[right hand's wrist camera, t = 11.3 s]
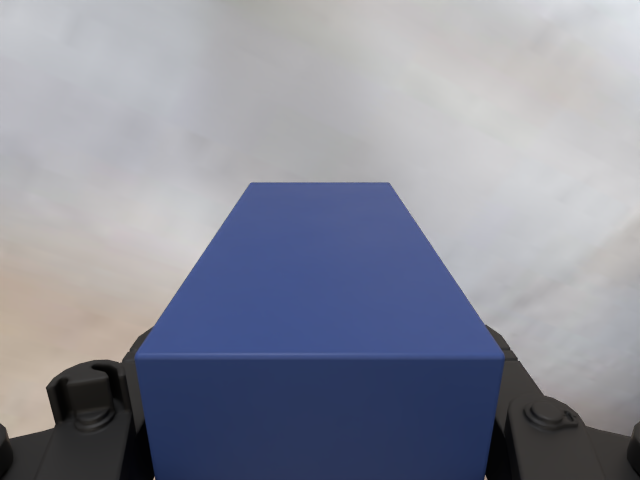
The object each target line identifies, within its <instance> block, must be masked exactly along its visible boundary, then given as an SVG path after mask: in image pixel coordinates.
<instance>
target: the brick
mask: <svg viewBox="0 0 640 480" xmlns="http://www.w3.org/2000/svg"><path fill="white" fill-rule="evenodd" d="M504 362H505V356H504V353H503V351H502V350H501V348H500V347H499V345H498V344H497V342H496V341H495V340H494V338H493V337H492V335H491V334H490V332H489V331H488V329H487V328H486V326H485V325H484V323H483V322H482V320H481V319H480V317H479V316H478V314H477V313H476V311H475V310H474V308H473V307H472V305H471V304H470V302H469V301H468V299H467V298H466V296H465V295H464V293H463V292H462V290H461V289H460V287H459V286H458V284H457V283H456V281H455V280H454V278H453V277H452V275H451V274H450V272H449V271H448V270H447V268H446V267H445V265H444V264H443V262H442V261H441V259H440V258H439V256H438V255H437V253H436V252H435V250H434V249H433V247H432V246H431V244H430V243H429V241H428V240H427V238H426V237H425V235H424V234H423V232H422V231H421V229H420V228H419V226H418V225H417V223H416V222H415V220H414V219H413V217H412V216H411V214H410V213H409V211H408V210H407V208H406V207H405V205H404V204H403V202H402V201H401V199H400V198H399V197H398V195H397V194H396V192H395V191H394V189H393V188H392V186H391V185H390V183H250V184H249V186H248V187H247V189H246V190H245V192H244V193H243V195H242V196H241V198H240V199H239V201H238V202H237V204H236V205H235V207H234V208H233V210H232V211H231V212H230V214H229V215H228V217H227V218H226V220H225V221H224V223H223V224H222V226H221V227H220V229H219V230H218V232H217V233H216V235H215V236H214V238H213V239H212V241H211V242H210V244H209V245H208V247H207V248H206V250H205V251H204V253H203V254H202V256H201V257H200V259H199V260H198V262H197V263H196V264H195V266H194V267H193V269H192V270H191V272H190V273H189V275H188V276H187V278H186V279H185V281H184V282H183V284H182V285H181V287H180V288H179V290H178V291H177V293H176V294H175V296H174V297H173V299H172V300H171V302H170V303H169V305H168V306H167V308H166V309H165V311H164V312H163V313H162V315H161V316H160V318H159V319H158V321H157V322H156V324H155V325H154V327H153V328H152V330H151V331H150V333H149V334H148V336H147V337H146V339H145V340H144V342H143V343H142V345H141V346H140V348H139V349H138V351H137V352H136V354H135V365H136V371H137V377H138V382H139V388H140V394H141V400H142V405H143V411H144V417H145V423H146V428H147V434H148V440H149V446H150V451H151V457H152V463H153V469H154V474H155V480H484V477H485V472H486V466H487V460H488V454H489V449H490V443H491V437H492V431H493V425H494V420H495V414H496V408H497V402H498V397H499V391H500V385H501V379H502V373H503V368H504Z"/></svg>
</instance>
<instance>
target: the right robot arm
mask: <svg viewBox="0 0 640 480" xmlns="http://www.w3.org/2000/svg"><path fill="white" fill-rule="evenodd" d="M485 326H486V328H487V329H488V331H489V332H490V334H491V335H492V337H493V338H494V340H495V341H496V342H497V344H498V345H499V347H500V348H501V350H502V351H503V353H504V356H505V362H504V368H503V373H502V379H501V385H500V391H499V397H498V402H497V408H496V414H495V420H494V425H493V431H492V437H491V443H490V449H489V454H488V460H487V466H486V472H485V475H486V477H487V480H640V422H639V423H637V424H636V425H635V426H634V429H633V433H632V436H631V437H629V436H624V435H620V434H615V433H611V432H606V431H602V430H598V429H594V428H591V427H587V426H585V424H584V422H583V421H582V419H581V418H580V416H579V415H578V414H577V413H576V412H575V411H574V410H572V409H571V408H570V407H569V406H567V405H566V404H564V403H562V402H560V401H558V400H556V399H554V398H551V397H547V396H544V395H543V394H542V392H541V391H540V389H539V388H538V387H537V385H536V384H535V382H534V381H533V379H532V378H531V377H530V375H529V374H528V372H527V371H526V370H525V368H524V367H523V365H522V364H521V363H520V361H518V358H517V357H516V355H515V354H514V353H513V351H512V350H510V347H509V346H508V344H507V343H506V341H505V340H504V338H503V337H502V336H501V335H500V334H499V333H497V332H496V331H494V330H493V329H491V328H490V327H488V326H487V325H485ZM153 327H154V326H153ZM153 327H152V328H153ZM152 328H151V329H149V330H148V331H146V332H145V333H143V334H142V335H141V336H139V337H138V338H137V340H136V341H135V343H134V344H133V346H132V347H131V348H130V352H128V353H127V354H126V355H125V357H124V358H123V360H122V363H119V362H115V361H111V360H93V361H89V362H85V363H80V364H78V365H75V366H73V367H71V368H69V369H66V370H64V371H63V372H62V373H60V374H59V375H57V376H56V377H54V378H53V379H52V381H51V382H50V383H49V384H48V386H47V387H46V390H47V393H48V397H49V401H50V405H51V409H52V412H53V416H54V420H55V424H56V425H55V427H54V428H52V429H49V430H45V431H42V432H37V433H33V434H28V435H24V436H20V437H15V438H11V439H9V437H8V434H7V431H6V428H5V427H4V426H3V425H2V424H0V480H153V479H154V476H155V474H154V469H153V463H152V457H151V451H150V446H149V440H148V434H147V428H146V423H145V417H144V411H143V405H142V400H141V394H140V388H139V382H138V377H137V371H136V365H135V354H136V352H137V351H138V349H139V348H140V346H141V345H142V343H143V342H144V340H145V339H146V337H147V336H148V334H149V333H150V331H151V330H152Z"/></svg>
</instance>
